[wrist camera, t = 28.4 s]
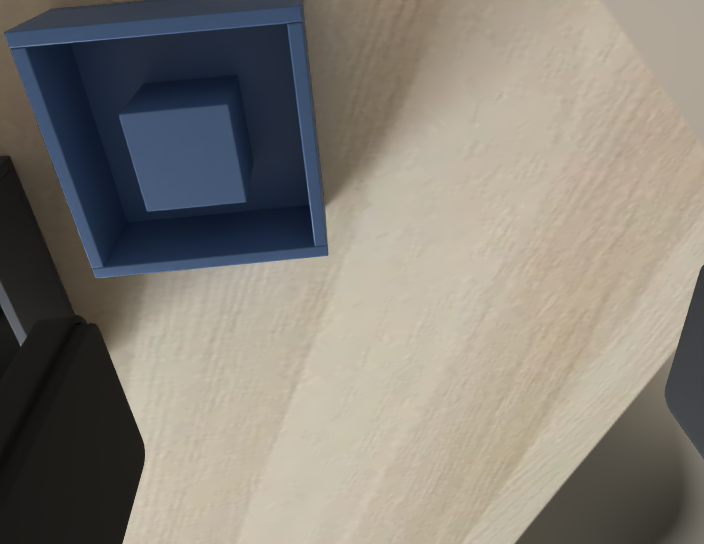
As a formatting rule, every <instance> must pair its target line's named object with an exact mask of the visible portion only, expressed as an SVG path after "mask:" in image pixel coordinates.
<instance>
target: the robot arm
mask: <svg viewBox="0 0 704 544" xmlns="http://www.w3.org/2000/svg"><path fill="white" fill-rule="evenodd" d="M665 398H666V403H667V405H668V408H669V409H670V411H671V413H672V414H673V416H674V417H675V419H676V420H677V421H678V423H679V424H680V426H681V427H682V429H683V430H684V431H685V433H686V434H687V436H688V437H689V439H690V440H691V442H692V443H693V444H694V446H695V447H696V449H697V450H698V452H699V453H700V454H701V456H702V457H703V459H704V265H703V266H702V268H701V270H700V273H699V276H698V279H697V283H696V286H695V289H694V293H693V296H692V300H691V303H690V306H689V310H688V313H687V316H686V320H685V323H684V326H683V330H682V333H681V336H680V340H679V343H678V347H677V350H676V353H675V357H674V360H673V363H672V367H671V370H670V374H669V377H668V380H667V384H666V387H665ZM144 462H145V448H144V443H143V440H142V437H141V434H140V432H139V429H138V427H137V424H136V422H135V419H134V417H133V414H132V411H131V409H130V406H129V404H128V401H127V399H126V396H125V393H124V391H123V388H122V386H121V383H120V381H119V378H118V376H117V373H116V370H115V368H114V365H113V363H112V360H111V358H110V355H109V352H108V350H107V347H106V345H105V342H104V340H103V337H102V335H101V332H100V330H99V328H98V326H97V325H96V324H93V323H90V324H87V322H86V320H85V319H84V318H83V317H82V316H79V315H74V316H64V317H54V318H44V319H40V320H38V321H37V322H36V323H35V324H34V326H33V327H32V329H31V331H30V332H29V334H28V336H27V337H26V339H25V341H24V342H23V344H22V345H21V347H20V349H19V350H18V352H17V354H16V355H15V357H14V359H13V360H12V362H11V363H10V365H9V367H8V368H7V370H6V372H5V373H4V375H3V377H2V378H1V380H0V544H122V543H123V540H124V536H125V532H126V529H127V525H128V521H129V518H130V514H131V510H132V507H133V503H134V499H135V496H136V492H137V488H138V485H139V481H140V478H141V474H142V470H143V467H144Z"/></svg>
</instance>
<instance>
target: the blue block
mask: <svg viewBox="0 0 704 544" xmlns="http://www.w3.org/2000/svg"><path fill="white" fill-rule="evenodd" d="M119 118H120V121H121V125H122V128H123V131H124V135H125V138H126V142H127V145H128V148H129V152H130V155H131V159H132V162H133V165H134V169H135V172H136V176H137V179H138V182H139V186H140V189H141V193H142V196H143V199H144V203H145V206H146V210H147V211H159V210H169V209H179V208H190V207H200V206H211V205H221V204H231V203H242V202H246V201H247V196H248V190H249V185H250V179H251V173H252V168H253V158H252V152H251V146H250V141H249V135H248V129H247V123H246V118H245V112H244V106H243V101H242V95H241V89H240V83H239V78H238V75H232V76H221V77H211V78H200V79H189V80H178V81H167V82H157V83H146V84H143V85H142V86H141V87H140V89H139V90H138V91H137V92H136V93H135V95H134V96H133V97H132V98H131V100H130V101H129V102H128V103H127V105H126V106H125V107H124V108H123V110H122V111H121V112H120V113H119Z"/></svg>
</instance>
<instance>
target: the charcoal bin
mask: <svg viewBox="0 0 704 544" xmlns="http://www.w3.org/2000/svg"><path fill="white" fill-rule="evenodd" d="M74 315H75V314H74V311H73V309H72V306H71V304H70V302H69V299H68V297H67V294H66V292H65V289H64V287H63V285H62V282H61V280H60V277H59V275H58V272H57V270H56V268H55V265H54V263H53V260H52V258H51V255H50V253H49V251H48V248H47V246H46V243H45V241H44V238H43V236H42V234H41V231H40V229H39V226H38V224H37V221H36V219H35V217H34V214H33V212H32V209H31V207H30V204H29V202H28V200H27V197H26V195H25V192H24V190H23V188H22V185H21V183H20V180H19V178H18V175H17V173H16V171H15V168H14V166H13V163H12V161H11V158H10V156H2V157H0V380H1V378H2V377H3V375H4V373H5V372H6V370H7V368H8V367H9V365H10V363H11V362H12V360H13V359H14V357H15V355H16V354H17V352H18V350H19V349H20V347H21V345H22V344H23V342H24V341H25V339H26V337H27V336H28V334H29V332H30V331H31V329H32V327H33V326H34V324H35V323H36V322H37V321H38V320H40V319H44V318H54V317H64V316H74Z"/></svg>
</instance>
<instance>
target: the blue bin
mask: <svg viewBox="0 0 704 544" xmlns="http://www.w3.org/2000/svg"><path fill="white" fill-rule="evenodd" d="M4 34H5V37H6V40H7V42H8V45H9V47H10V48H11V49H10V50H11V53H12V56H13V58H14V61H15V64H16V67H17V69H18V72H19V75H20V77H21V80H22V83H23V85H24V88H25V91H26V93H27V96H28V99H29V101H30V104H31V107H32V109H33V112H34V115H35V118H36V120H37V123H38V126H39V128H40V131H41V134H42V136H43V139H44V142H45V144H46V147H47V150H48V152H49V155H50V158H51V160H52V163H53V166H54V168H55V171H56V174H57V177H58V179H59V182H60V185H61V187H62V190H63V193H64V195H65V198H66V201H67V203H68V206H69V209H70V211H71V214H72V217H73V219H74V222H75V225H76V228H77V230H78V233H79V236H80V238H81V241H82V244H83V246H84V249H85V252H86V254H87V257H88V260H89V262H90V265H91V268H92V270H93V273H94V275H95V278H106V277H116V276H126V275H136V274H146V273H157V272H167V271H177V270H187V269H197V268H208V267H218V266H228V265H238V264H248V263H259V262H269V261H279V260H289V259H299V258H310V257H320V256H328V243H327V228H326V214H325V203H324V193H323V184H322V175H321V166H320V157H319V147H318V138H317V129H316V120H315V111H314V101H313V92H312V83H311V74H310V65H309V55H308V46H307V37H306V28H305V19H304V9H303V0H146V1H135V2H124V3H113V4H102V5H91V6H80V7H68V8H57V9H50V10H48V11H46V12H44V13H42V14H40V15H38V16H36V17H34V18H32V19H30V20H28V21H26V22H24V23H22V24H20V25H18V26H16V27H14V28H12V29H10V30H8V31H6V32H4ZM232 75H238V78H239V83H240V89H241V95H242V101H243V106H244V112H245V118H246V123H247V129H248V135H249V141H250V146H251V152H252V158H253V168H252V173H251V179H250V185H249V190H248V196H247V201H246V202H242V203H231V204H221V205H211V206H200V207H190V208H179V209H169V210H159V211H147V210H146V206H145V203H144V199H143V196H142V193H141V189H140V186H139V182H138V179H137V176H136V172H135V169H134V165H133V162H132V159H131V155H130V152H129V148H128V145H127V142H126V138H125V135H124V131H123V128H122V125H121V121H120V118H119V113H120V112H121V111H122V110H123V108H124V107H125V106H126V105H127V103H128V102H129V101H130V100H131V98H132V97H133V96H134V95H135V93H136V92H137V91H138V90H139V89H140V87H141V86H142V85H143V84H146V83H157V82H167V81H178V80H189V79H200V78H211V77H221V76H232Z"/></svg>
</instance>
